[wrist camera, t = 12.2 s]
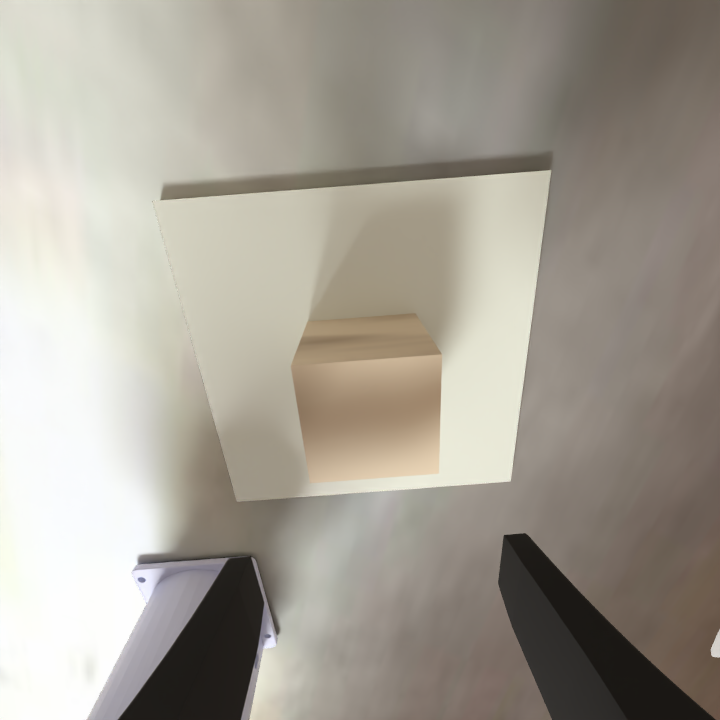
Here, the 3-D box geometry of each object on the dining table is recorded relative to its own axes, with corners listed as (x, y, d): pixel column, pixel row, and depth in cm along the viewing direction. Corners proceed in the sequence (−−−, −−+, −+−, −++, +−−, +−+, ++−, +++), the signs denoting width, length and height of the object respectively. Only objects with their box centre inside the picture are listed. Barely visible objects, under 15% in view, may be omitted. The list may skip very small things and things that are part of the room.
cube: (416, 406, 18) (438, 473, 13) (319, 413, 18) (309, 483, 13) (415, 313, 16) (442, 354, 11) (307, 321, 16) (290, 365, 11)
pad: (506, 474, 21) (510, 481, 20) (239, 494, 21) (236, 502, 20) (543, 171, 14) (551, 170, 14) (159, 201, 14) (151, 200, 14)
